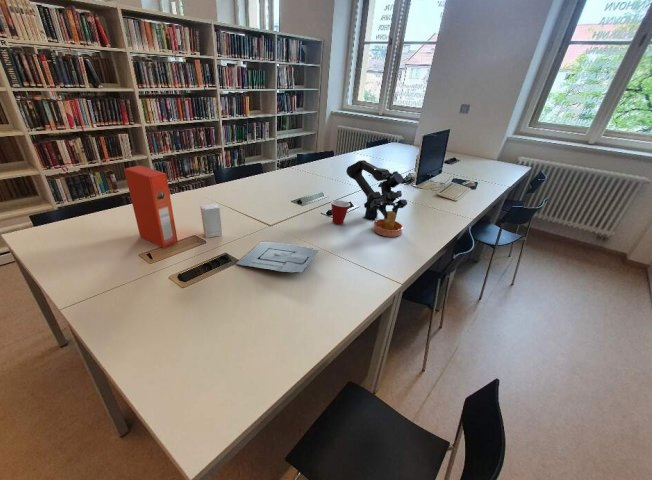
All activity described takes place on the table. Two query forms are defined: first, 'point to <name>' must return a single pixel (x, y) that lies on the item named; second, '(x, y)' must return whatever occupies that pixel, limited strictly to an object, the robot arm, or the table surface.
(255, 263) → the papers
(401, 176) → the robot arm
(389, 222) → the ochre block
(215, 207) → the cosmetic box
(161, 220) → the file binder
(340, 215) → the plastic cup
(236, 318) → the table surface
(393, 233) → the bowl
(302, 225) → the table surface
